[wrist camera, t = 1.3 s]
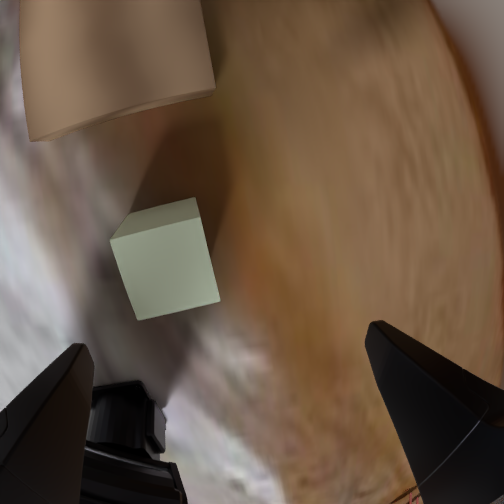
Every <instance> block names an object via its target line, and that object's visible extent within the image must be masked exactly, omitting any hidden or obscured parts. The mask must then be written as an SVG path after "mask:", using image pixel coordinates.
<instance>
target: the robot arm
mask: <svg viewBox="0 0 504 504" xmlns="http://www.w3.org/2000/svg"><path fill="white" fill-rule="evenodd" d="M365 348H366V351H367V354H368V357H369V361H370V364H371V367H372V370H373V374H374V377H375V380H376V383H377V386H378V388H379V391H380V393H381V395H382V398H383V400H384V402H385V405H386V407H387V410H388V412H389V414H390V417H391V419H392V422H393V424H394V427H395V429H396V431H397V434H398V436H399V439H400V441H401V444H402V446H403V449H404V452H405V454H406V457H407V459H408V462H409V464H410V467H411V470H412V472H413V475H414V478H415V480H416V483H417V486H419V487H418V489H419V492H420V495H421V497H422V500H423V503H424V504H504V390H502V389H500V388H498V387H496V386H494V385H492V384H490V383H488V382H486V381H484V380H482V379H481V378H479V377H477V376H475V375H474V374H472V373H470V372H469V371H467V370H465V369H462V367H460V366H459V365H457V364H455V363H454V362H452V361H450V360H449V359H447V358H445V357H444V356H442V355H440V354H439V353H437V352H435V351H434V350H432V349H430V348H429V347H427V346H425V345H424V344H422V343H420V342H419V341H417V340H415V339H414V338H412V337H410V336H408V335H407V334H405V333H403V332H402V331H400V330H398V329H397V328H395V327H393V326H392V325H390V324H388V323H387V322H385V321H383V320H378V321H373V322H371V323H370V324H369V327H368V331H367V335H366V338H365ZM93 377H94V362H93V359H92V357H91V355H90V353H89V350H88V348H87V346H86V345H85V344H84V343H73V344H72V345H71V346H69V347H68V348H67V349H66V350H65V351H64V352H63V353H62V354H61V355H60V356H59V357H58V358H56V359H55V360H54V361H53V362H52V363H51V364H50V365H49V366H48V367H47V368H46V369H45V370H44V371H42V372H41V373H40V374H39V375H38V376H37V377H36V378H35V379H34V380H33V381H32V382H31V383H30V384H29V385H28V386H27V387H26V388H25V389H24V390H23V391H22V392H20V393H19V394H18V395H17V396H16V397H15V398H14V399H13V400H12V401H11V402H10V403H9V404H8V405H7V406H6V408H4V409H3V410H2V411H1V412H0V504H188V502H187V496H186V493H185V490H184V487H183V484H182V481H181V478H180V474H179V471H178V468H177V465H176V463H172V462H169V463H168V462H163V461H160V454H161V453H164V452H165V430H166V425H165V418H164V416H163V414H162V413H161V411H160V409H159V407H158V405H157V403H156V402H155V401H154V400H153V399H151V398H150V396H149V394H148V392H147V390H146V388H145V386H144V384H143V383H142V382H141V381H131V382H126V383H120V384H113V385H107V386H101V387H94V388H93ZM136 386H139V387H136Z"/></svg>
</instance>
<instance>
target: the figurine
mask: <svg viewBox="0 0 504 504" xmlns="http://www.w3.org/2000/svg"><path fill="white" fill-rule="evenodd" d="M409 489H410V488H409ZM407 490H408V489H407ZM407 490H405V491H407ZM405 491H404V492H405ZM409 504H412V493H410V497H409ZM416 504H418V497H417V498H416Z"/></svg>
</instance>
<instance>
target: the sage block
mask: <svg viewBox="0 0 504 504" xmlns="http://www.w3.org/2000/svg"><path fill="white" fill-rule="evenodd" d="M110 243H111V247H112V250H113V253H114V256H115V259H116V262H117V265H118V268H119V271H120V274H121V277H122V280H123V283H124V285H125V288H126V291H127V294H128V296H129V299H130V302H131V304H132V307H133V310H134V312H135V315H136V318H137V320H138V321H139V320H144V319H148V318H153V317H157V316H161V315H166V314H170V313H174V312H179V311H183V310H187V309H191V308H195V307H199V306H203V305H208V304H212V303H216V302H220V301H221V300H220V296H219V292H218V288H217V284H216V280H215V276H214V272H213V268H212V264H211V260H210V256H209V252H208V248H207V243H206V239H205V235H204V231H203V226H202V222H201V218H200V214H199V210H198V206H197V202H196V198H195V197H193V198H189V199H184V200H180V201H176V202H172V203H168V204H164V205H160V206H156V207H153V208H149V209H145V210H141V211H137V212H134V213H130V214H128V215H127V217H126V218H125V219H124V221H123V222H122V224H121V225H120V226H119V228H118V229H117V230H116V232H115V233H114V235H113V236H112V237H111V239H110Z"/></svg>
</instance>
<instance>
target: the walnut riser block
mask: <svg viewBox="0 0 504 504" xmlns="http://www.w3.org/2000/svg"><path fill="white" fill-rule="evenodd" d="M19 41H20V65H21V78H22V89H23V98H24V107H25V114H26V121H27V127H28V133H29V139H30V142H36V141H51V140H54V139H56V138H59V137H62V136H64V135H67V134H70V133H73V132H75V131H78V130H81V129H84V128H87V127H90V126H93V125H96V124H99V123H102V122H106V121H109V120H112V119H116V118H119V117H122V116H126V115H129V114H133V113H137V112H140V111H144V110H148V109H152V108H156V107H160V106H165V105H169V104H173V103H178V102H182V101H187V100H192V99H197V98H202V97H208V96H211V95H212V93H213V92H214V90H215V89H216V85H215V79H214V74H213V69H212V63H211V58H210V52H209V47H208V41H207V36H206V30H205V25H204V20H203V14H202V9H201V3H200V0H20V16H19Z"/></svg>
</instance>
